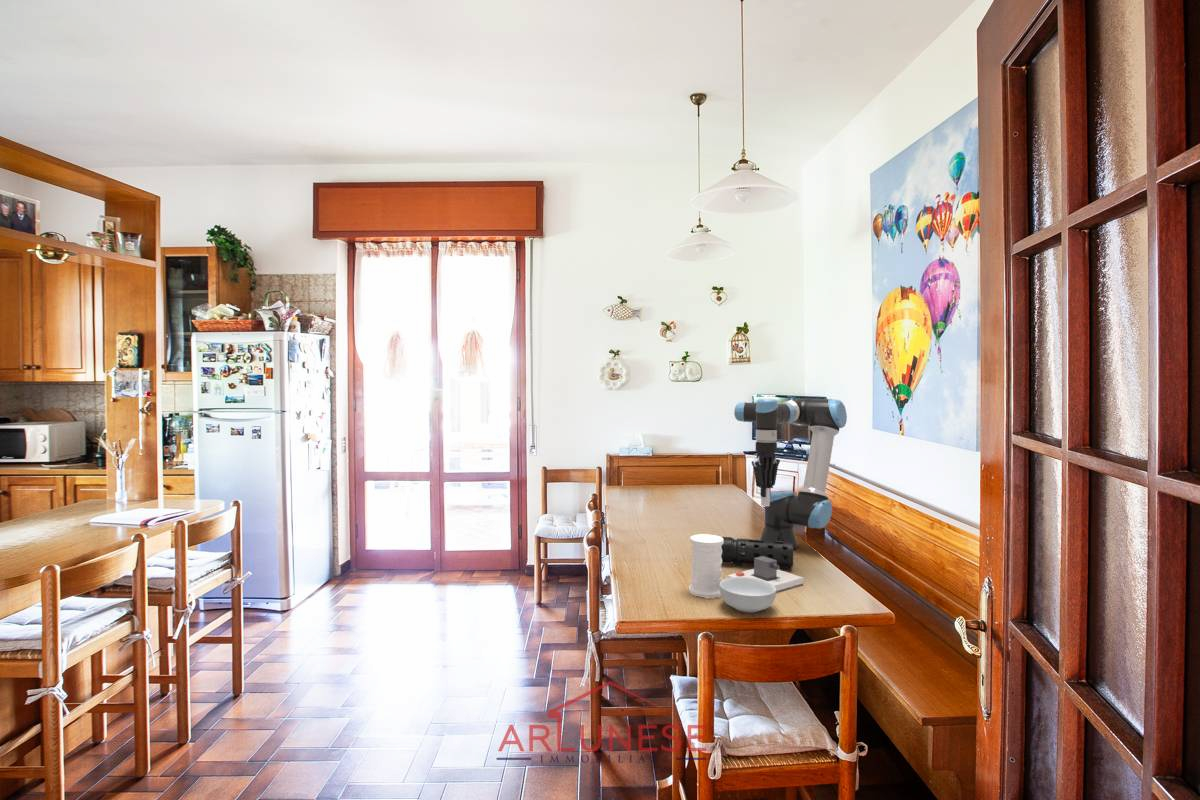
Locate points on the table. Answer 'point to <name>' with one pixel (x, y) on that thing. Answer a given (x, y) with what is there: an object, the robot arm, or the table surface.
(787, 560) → the muzzle brake
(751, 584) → the cereal bowl
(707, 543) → the decorative container
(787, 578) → the socket plate
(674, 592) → the table surface
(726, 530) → the table surface
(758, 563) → the plug
